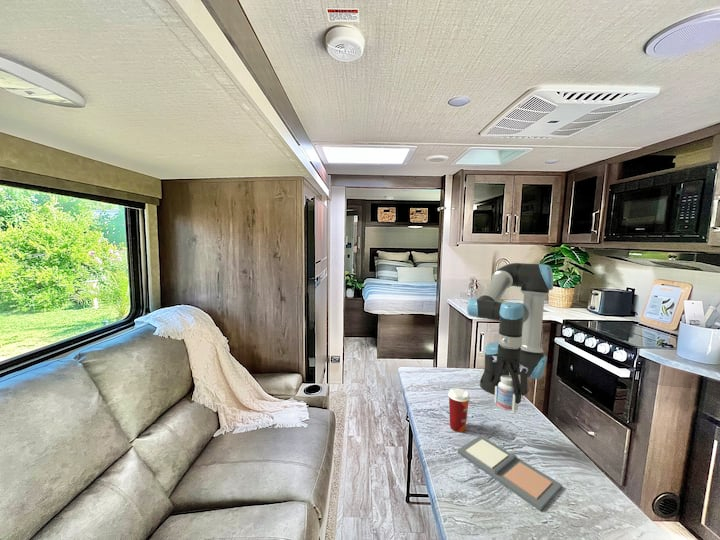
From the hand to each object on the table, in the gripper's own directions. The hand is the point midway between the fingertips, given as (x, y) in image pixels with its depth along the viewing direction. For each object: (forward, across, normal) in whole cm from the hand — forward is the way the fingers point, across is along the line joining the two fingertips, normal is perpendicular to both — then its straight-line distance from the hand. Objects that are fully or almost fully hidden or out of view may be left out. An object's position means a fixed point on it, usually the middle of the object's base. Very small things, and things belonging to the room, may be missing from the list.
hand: (505, 405), depth 110 cm
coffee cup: (+15, -16, -6) cm, 23 cm away
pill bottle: (0, 0, 0) cm, 1 cm away
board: (+15, +7, -11) cm, 20 cm away
